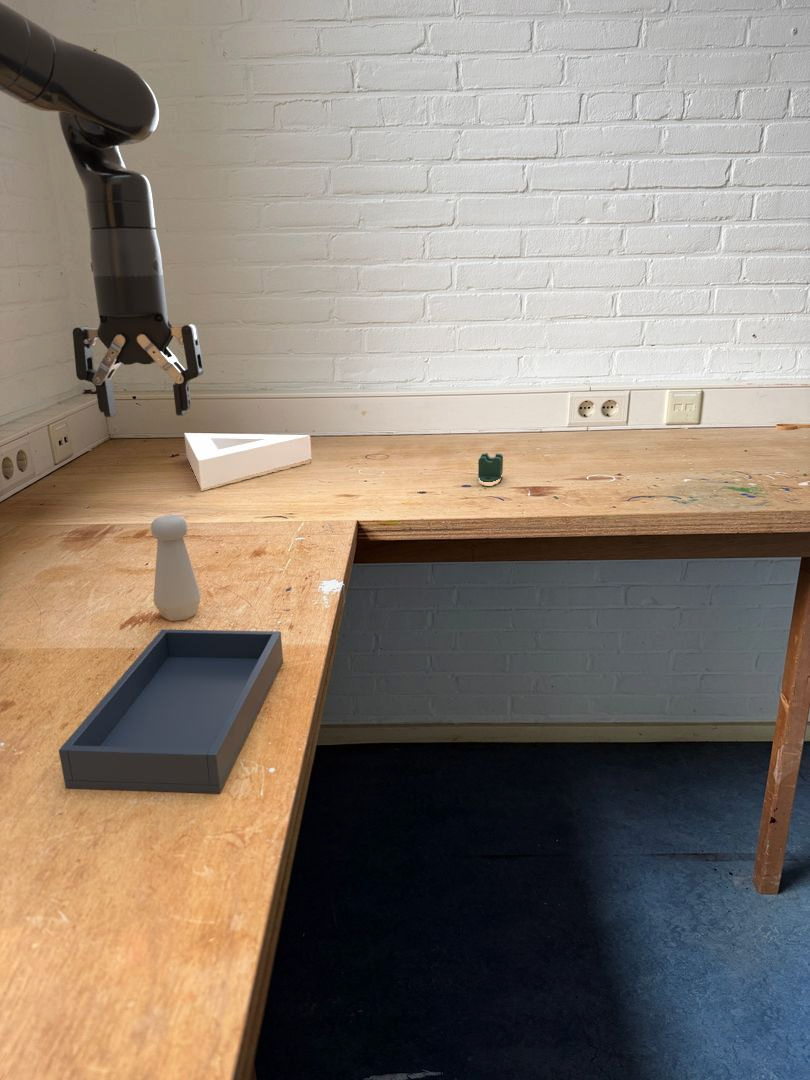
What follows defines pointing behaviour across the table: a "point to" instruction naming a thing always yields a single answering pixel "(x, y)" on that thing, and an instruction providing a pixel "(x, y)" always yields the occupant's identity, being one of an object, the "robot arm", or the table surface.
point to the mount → (490, 467)
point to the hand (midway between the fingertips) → (146, 415)
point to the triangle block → (241, 454)
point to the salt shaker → (174, 570)
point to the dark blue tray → (176, 714)
